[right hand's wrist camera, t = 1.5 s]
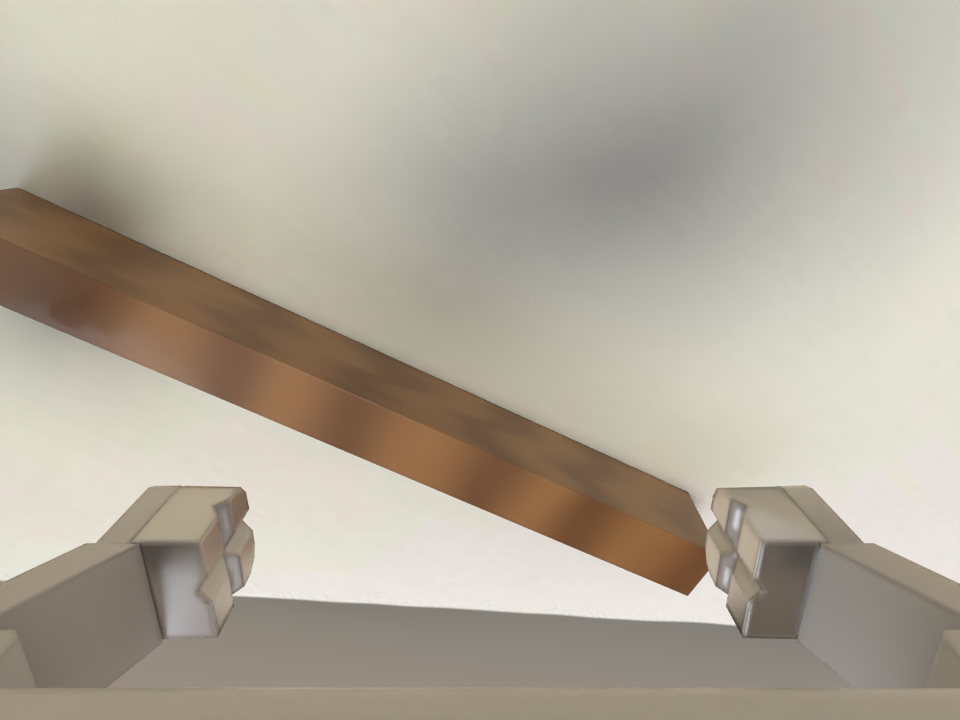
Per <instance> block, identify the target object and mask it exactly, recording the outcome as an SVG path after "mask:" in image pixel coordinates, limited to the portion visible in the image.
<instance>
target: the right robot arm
mask: <svg viewBox="0 0 960 720" xmlns="http://www.w3.org/2000/svg"><path fill="white" fill-rule="evenodd" d="M248 510H249V505H248V500H247V496H246V492H245V491H244V490H243V489H242V488H241V487H211V486H154V487H150V488H148V489H147V490H146V491H145V492H144V493H143V494H142V495H141V496H140V497H139V498H138V499H137V500H136V501H135V502H134V504H133V505H132V506H131V507H130V508H129V509H128V510H127V511H126V512H125V513H124V514H123V515H122V516H121V517H120V518H119V519H118V520H117V521H116V523H115V524H114V525H113V526H112V527H111V528H110V529H109V530H108V531H107V532H106V533H105V534H104V535H103V536H102V537H101V538H100V539H99V540H98V542H97V543H86V544H84V545H82V546H80V547H77V548H75V549H73V550H71V551H69V552H67V553H65V554H63V555H60V556H58V557H56V558H54V559H52V560H50V561H48V562H46V563H43V564H41V565H39V566H37V567H35V568H33V569H31V570H29V571H26V572H24V573H22V574H20V575H18V576H16V577H14V578H11V579H9V580H7V581H5V582H3V583H1V584H0V720H960V584H959V583H957V582H955V581H953V580H950V579H948V578H946V577H944V576H942V575H940V574H938V573H936V572H933V571H931V570H929V569H927V568H925V567H923V566H921V565H919V564H916V563H914V562H912V561H910V560H908V559H906V558H904V557H902V556H900V555H897V554H895V553H893V552H891V551H889V550H887V549H885V548H883V547H880V546H878V545H876V544H874V543H863V541H862V540H861V539H860V538H859V537H858V536H857V535H856V534H855V533H854V532H853V531H852V530H851V529H850V528H849V527H848V526H847V525H846V524H845V522H844V521H843V520H842V519H841V518H840V517H839V516H838V515H837V514H836V513H835V512H834V511H833V510H832V509H831V508H830V507H829V506H828V504H827V503H826V502H825V501H824V500H823V499H822V498H821V497H820V496H819V495H818V494H817V493H816V492H815V491H814V490H813V489H812V488H810V487H807V486H805V485H801V486H776V487H742V488H717V489H716V491H715V493H714V495H713V499H712V505H711V510H712V512H713V513H714V515H715V517H716V518H717V521H716V522H715V523H714V524H713V525H712V526H711V527H710V528H709V529H708V530H707V537H706V545H705V550H706V561H707V566H708V569H709V573H710V576H711V578H712V580H713V582H714V584H715V586H716V587H718V588H719V589H720V590H722V591H723V592H725V593H726V594H728V598H727V604H726V607H727V609H728V611H729V613H730V614H731V616H732V618H733V620H734V622H735V624H736V626H737V628H738V630H739V631H740V633H741V635H742V637H743V638H772V639H797V642H798V643H799V644H800V645H802V646H803V647H804V648H805V649H807V650H808V651H809V652H810V653H811V654H813V655H814V656H815V657H816V658H818V659H819V660H820V661H821V662H823V663H824V664H825V665H826V666H827V667H829V668H830V669H831V670H832V671H834V672H835V673H836V674H837V675H839V676H840V677H841V678H842V679H844V680H845V681H846V682H847V683H848V684H850V685H851V686H852V687H853V688H107V687H108V686H109V685H110V684H112V683H113V682H114V681H115V680H117V679H118V678H119V677H120V676H122V675H123V674H124V673H125V672H127V671H128V670H129V669H130V668H131V667H133V666H134V665H135V664H136V663H138V662H139V661H140V660H141V659H143V658H144V657H145V656H146V655H148V654H149V653H150V652H151V651H152V650H154V649H155V648H156V647H157V646H159V645H160V644H161V643H162V642H163V639H188V638H217V637H218V635H219V633H220V632H221V629H222V628H223V626H224V624H225V622H226V620H227V618H228V616H229V614H230V613H231V611H232V609H233V607H234V604H233V598H232V594H234V593H235V592H237V591H238V590H240V589H241V588H242V587H244V586H245V584H246V582H247V580H248V578H249V576H250V574H251V569H252V565H253V560H254V546H255V542H254V536H253V530H252V529H251V528H250V527H249V526H248V525H247V524H246V523H245V522H244V521H243V518H244V517H245V515H246V513H247V512H248Z"/></svg>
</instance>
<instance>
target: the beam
mask: <svg viewBox="0 0 960 720" xmlns="http://www.w3.org/2000/svg"><path fill="white" fill-rule="evenodd" d="M0 305H1V306H3V307H5V308H8V309H10V310H13V311H15V312H17V313H20V314H22V315H24V316H27V317H29V318H32V319H34V320H36V321H39V322H41V323H43V324H46V325H48V326H50V327H53V328H55V329H58V330H60V331H62V332H65V333H67V334H69V335H72V336H74V337H76V338H79V339H81V340H84V341H86V342H88V343H91V344H93V345H95V346H98V347H100V348H102V349H105V350H107V351H110V352H112V353H114V354H117V355H119V356H121V357H124V358H126V359H128V360H131V361H133V362H136V363H138V364H140V365H143V366H145V367H147V368H150V369H152V370H155V371H157V372H159V373H162V374H164V375H166V376H169V377H171V378H173V379H176V380H178V381H181V382H183V383H185V384H188V385H190V386H192V387H195V388H197V389H199V390H202V391H204V392H207V393H209V394H211V395H214V396H216V397H218V398H221V399H223V400H225V401H228V402H230V403H233V404H235V405H237V406H240V407H242V408H244V409H247V410H249V411H251V412H254V413H256V414H259V415H261V416H263V417H266V418H268V419H270V420H273V421H275V422H277V423H280V424H282V425H285V426H287V427H289V428H292V429H294V430H296V431H299V432H301V433H304V434H306V435H308V436H311V437H313V438H315V439H318V440H320V441H322V442H325V443H327V444H330V445H332V446H334V447H337V448H339V449H341V450H344V451H346V452H348V453H351V454H353V455H356V456H358V457H360V458H363V459H365V460H367V461H370V462H372V463H374V464H377V465H379V466H382V467H384V468H386V469H389V470H391V471H393V472H396V473H398V474H400V475H403V476H405V477H408V478H410V479H412V480H415V481H417V482H419V483H422V484H424V485H426V486H429V487H431V488H434V489H436V490H438V491H441V492H443V493H445V494H448V495H450V496H453V497H455V498H457V499H460V500H462V501H464V502H467V503H469V504H471V505H474V506H476V507H479V508H481V509H483V510H486V511H488V512H490V513H493V514H495V515H497V516H500V517H502V518H505V519H507V520H509V521H512V522H514V523H516V524H519V525H521V526H523V527H526V528H528V529H531V530H533V531H535V532H538V533H540V534H542V535H545V536H547V537H549V538H552V539H554V540H557V541H559V542H561V543H564V544H566V545H568V546H571V547H573V548H576V549H578V550H580V551H583V552H585V553H587V554H590V555H592V556H594V557H597V558H599V559H602V560H604V561H606V562H609V563H611V564H613V565H616V566H618V567H620V568H623V569H625V570H628V571H630V572H632V573H635V574H637V575H639V576H642V577H644V578H646V579H649V580H651V581H654V582H656V583H658V584H661V585H663V586H665V587H668V588H670V589H672V590H675V591H677V592H680V593H682V594H684V595H687V596H688V595H689V594H690V592H691V591H692V590H693V589H694V588H695V586H696V585H697V584H698V583H699V582H700V580H701V579H702V578H703V577H704V575H705V574H706V573H707V572H708V571H709V569H708V566H707V561H706V550H705V545H706V537H707V528H706V526H705V524H704V522H703V520H702V518H701V517H700V515H699V513H698V511H697V509H696V507H695V505H694V503H693V501H692V499H691V497H690V495H689V494H688V492H686V491H683V490H681V489H679V488H677V487H675V486H672V485H670V484H668V483H666V482H664V481H661V480H659V479H657V478H655V477H653V476H650V475H648V474H646V473H644V472H642V471H639V470H637V469H635V468H633V467H631V466H628V465H626V464H624V463H622V462H620V461H617V460H615V459H613V458H611V457H609V456H606V455H604V454H602V453H600V452H598V451H595V450H593V449H591V448H589V447H587V446H584V445H582V444H580V443H578V442H576V441H573V440H571V439H569V438H567V437H565V436H562V435H560V434H558V433H556V432H554V431H551V430H549V429H547V428H545V427H543V426H540V425H538V424H536V423H534V422H532V421H529V420H527V419H525V418H523V417H521V416H518V415H516V414H514V413H512V412H510V411H507V410H505V409H503V408H501V407H499V406H496V405H494V404H492V403H490V402H488V401H485V400H483V399H481V398H479V397H477V396H474V395H472V394H470V393H468V392H466V391H463V390H461V389H459V388H457V387H455V386H452V385H450V384H448V383H446V382H444V381H441V380H439V379H437V378H435V377H433V376H430V375H428V374H426V373H424V372H422V371H419V370H417V369H415V368H413V367H411V366H408V365H406V364H404V363H402V362H400V361H397V360H395V359H393V358H391V357H389V356H386V355H384V354H382V353H380V352H378V351H375V350H373V349H371V348H369V347H367V346H364V345H362V344H360V343H358V342H356V341H353V340H351V339H349V338H347V337H345V336H342V335H340V334H338V333H336V332H334V331H331V330H329V329H327V328H325V327H323V326H320V325H318V324H316V323H314V322H312V321H309V320H307V319H305V318H303V317H301V316H298V315H296V314H294V313H292V312H290V311H287V310H285V309H283V308H281V307H279V306H276V305H274V304H272V303H270V302H268V301H265V300H263V299H261V298H259V297H257V296H254V295H252V294H250V293H248V292H246V291H243V290H241V289H239V288H237V287H235V286H232V285H230V284H228V283H226V282H224V281H221V280H219V279H217V278H215V277H213V276H210V275H208V274H206V273H204V272H202V271H199V270H197V269H195V268H193V267H191V266H188V265H186V264H184V263H182V262H180V261H177V260H175V259H173V258H171V257H169V256H166V255H164V254H162V253H160V252H158V251H155V250H153V249H151V248H149V247H147V246H144V245H142V244H140V243H138V242H136V241H133V240H131V239H129V238H127V237H125V236H122V235H120V234H118V233H116V232H114V231H111V230H109V229H107V228H105V227H103V226H100V225H98V224H96V223H94V222H92V221H89V220H87V219H85V218H83V217H81V216H78V215H76V214H74V213H72V212H70V211H67V210H65V209H63V208H61V207H59V206H56V205H54V204H52V203H50V202H48V201H45V200H43V199H41V198H39V197H37V196H34V195H32V194H30V193H28V192H26V191H23V190H21V189H19V188H11V189H4V190H0Z"/></svg>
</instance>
